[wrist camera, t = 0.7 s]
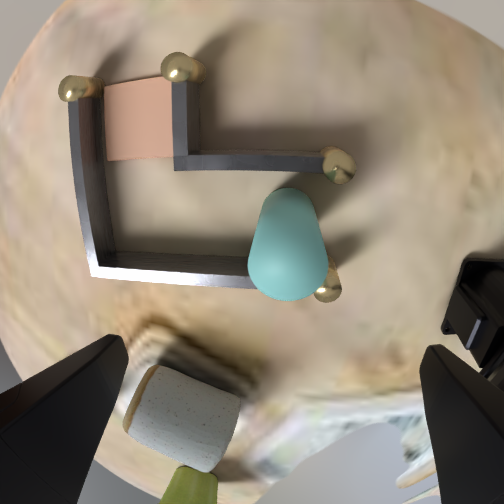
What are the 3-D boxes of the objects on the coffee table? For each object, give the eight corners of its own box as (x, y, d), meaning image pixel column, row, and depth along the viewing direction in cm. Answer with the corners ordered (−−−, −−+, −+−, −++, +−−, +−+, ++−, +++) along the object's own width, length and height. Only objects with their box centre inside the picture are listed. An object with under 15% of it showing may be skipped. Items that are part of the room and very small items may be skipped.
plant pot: (153, 466, 36) (137, 513, 28) (188, 454, 32) (172, 511, 25) (203, 490, 38) (193, 534, 30) (243, 480, 34) (235, 532, 27)
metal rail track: (347, 62, 15) (358, 52, 12) (333, 277, 20) (339, 303, 17) (85, 80, 16) (58, 78, 13) (105, 264, 22) (84, 284, 19)
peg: (316, 188, 18) (332, 230, 12) (312, 239, 19) (323, 302, 13) (261, 186, 18) (247, 226, 12) (261, 237, 19) (247, 299, 13)
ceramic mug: (156, 342, 24) (120, 413, 17) (247, 380, 25) (233, 457, 18) (138, 403, 29) (112, 459, 22) (208, 431, 30) (193, 491, 23)
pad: (178, 75, 16) (176, 74, 15) (179, 155, 18) (178, 156, 18) (106, 86, 16) (103, 86, 16) (109, 160, 18) (107, 161, 18)
